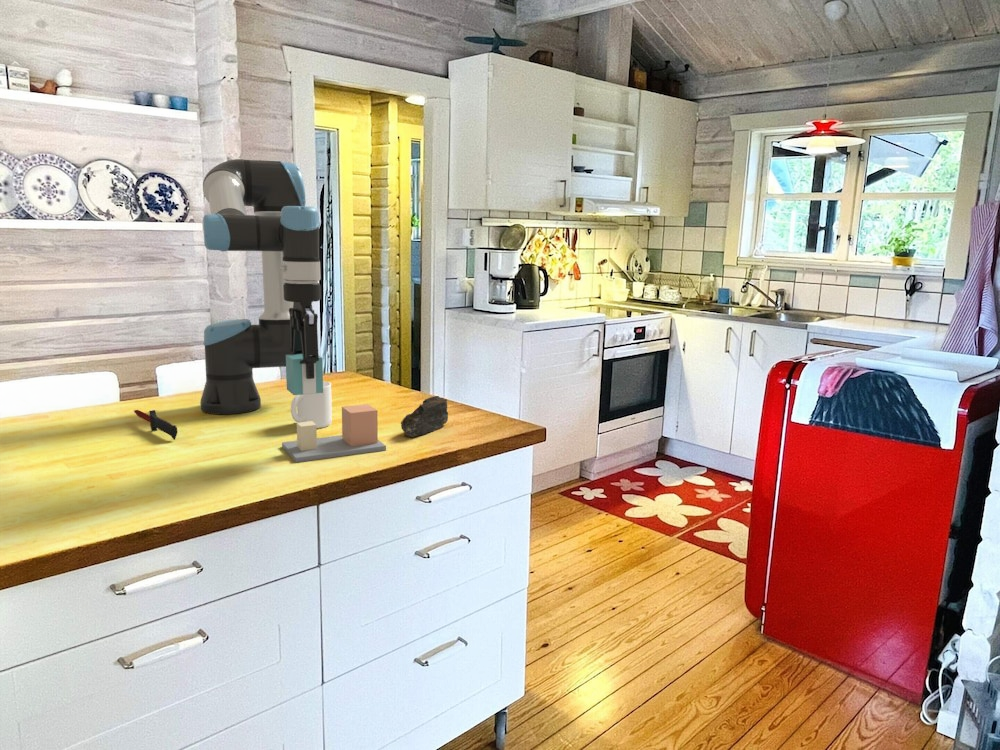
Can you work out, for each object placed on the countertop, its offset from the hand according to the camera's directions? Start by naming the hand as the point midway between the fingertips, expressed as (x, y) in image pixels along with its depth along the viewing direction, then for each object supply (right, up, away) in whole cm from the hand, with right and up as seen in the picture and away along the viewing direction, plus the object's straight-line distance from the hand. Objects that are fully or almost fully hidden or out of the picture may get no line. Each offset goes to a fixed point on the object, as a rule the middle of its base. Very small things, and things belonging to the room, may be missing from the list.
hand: (305, 389), depth 153 cm
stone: (+23, -11, +22) cm, 34 cm away
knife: (-40, -10, +16) cm, 44 cm away
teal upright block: (0, 0, 0) cm, 0 cm away
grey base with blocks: (+5, -13, +6) cm, 15 cm away
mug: (-5, -10, +23) cm, 26 cm away
